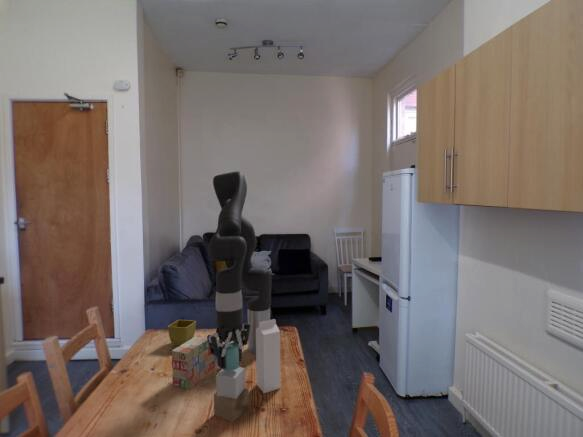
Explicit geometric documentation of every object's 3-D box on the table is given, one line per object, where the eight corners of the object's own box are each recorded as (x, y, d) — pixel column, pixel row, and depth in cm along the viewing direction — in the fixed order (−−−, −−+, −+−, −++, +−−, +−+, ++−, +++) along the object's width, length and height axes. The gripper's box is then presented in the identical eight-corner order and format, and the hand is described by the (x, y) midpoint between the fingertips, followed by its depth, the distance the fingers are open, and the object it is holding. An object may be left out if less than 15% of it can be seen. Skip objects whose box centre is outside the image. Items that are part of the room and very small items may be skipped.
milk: (280, 388, 111) (280, 321, 110) (263, 393, 108) (263, 325, 107) (272, 379, 116) (272, 316, 115) (256, 384, 113) (255, 319, 112)
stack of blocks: (210, 358, 133) (209, 327, 132) (224, 361, 131) (223, 329, 130) (172, 386, 113) (171, 349, 113) (187, 390, 111) (186, 352, 110)
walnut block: (230, 402, 104) (230, 383, 103) (248, 409, 100) (248, 389, 100) (214, 414, 98) (213, 394, 97) (232, 422, 94) (232, 401, 94)
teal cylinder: (231, 360, 102) (231, 341, 101) (242, 366, 98) (242, 345, 98) (217, 366, 98) (217, 346, 98) (228, 372, 95) (228, 351, 94)
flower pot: (197, 340, 150) (196, 320, 150) (186, 349, 142) (186, 327, 141) (179, 339, 152) (178, 319, 152) (167, 347, 144) (167, 326, 143)
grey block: (226, 384, 102) (226, 365, 102) (245, 387, 101) (244, 367, 100) (216, 395, 97) (216, 374, 96) (236, 399, 95) (235, 377, 95)
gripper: (240, 298, 105) (241, 352, 106) (199, 309, 95) (201, 369, 95) (256, 303, 100) (257, 359, 101) (215, 315, 90) (217, 378, 90)
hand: (230, 364), depth 98 cm, fingers closed on teal cylinder, 5 cm apart
